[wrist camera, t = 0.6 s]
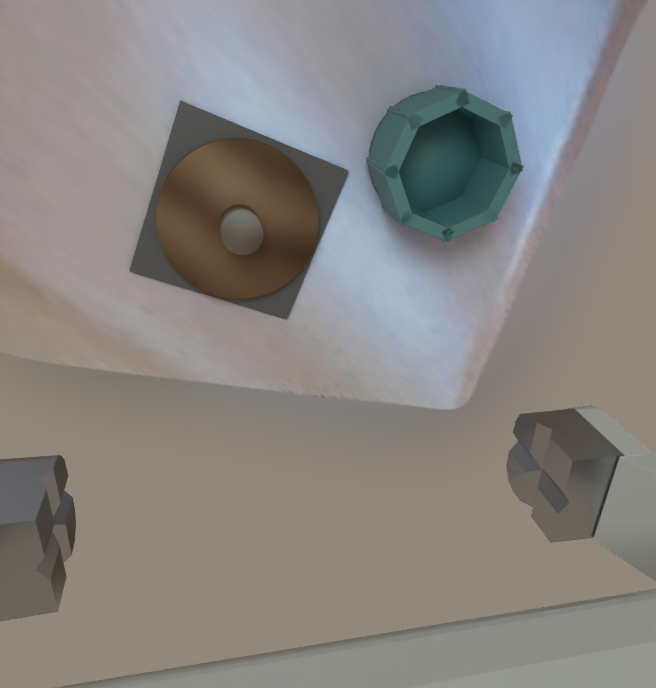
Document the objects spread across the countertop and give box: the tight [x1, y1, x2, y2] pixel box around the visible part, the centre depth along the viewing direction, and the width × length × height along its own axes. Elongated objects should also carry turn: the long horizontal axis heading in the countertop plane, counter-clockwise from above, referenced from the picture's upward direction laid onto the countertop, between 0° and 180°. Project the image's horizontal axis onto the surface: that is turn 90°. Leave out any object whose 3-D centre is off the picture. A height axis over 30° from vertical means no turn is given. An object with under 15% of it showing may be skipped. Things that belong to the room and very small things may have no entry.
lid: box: [156, 138, 319, 299], centre depth 46 cm, size 13×13×4 cm
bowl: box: [366, 85, 523, 242], centre depth 46 cm, size 10×10×6 cm
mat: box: [130, 101, 348, 319], centre depth 48 cm, size 14×14×1 cm
